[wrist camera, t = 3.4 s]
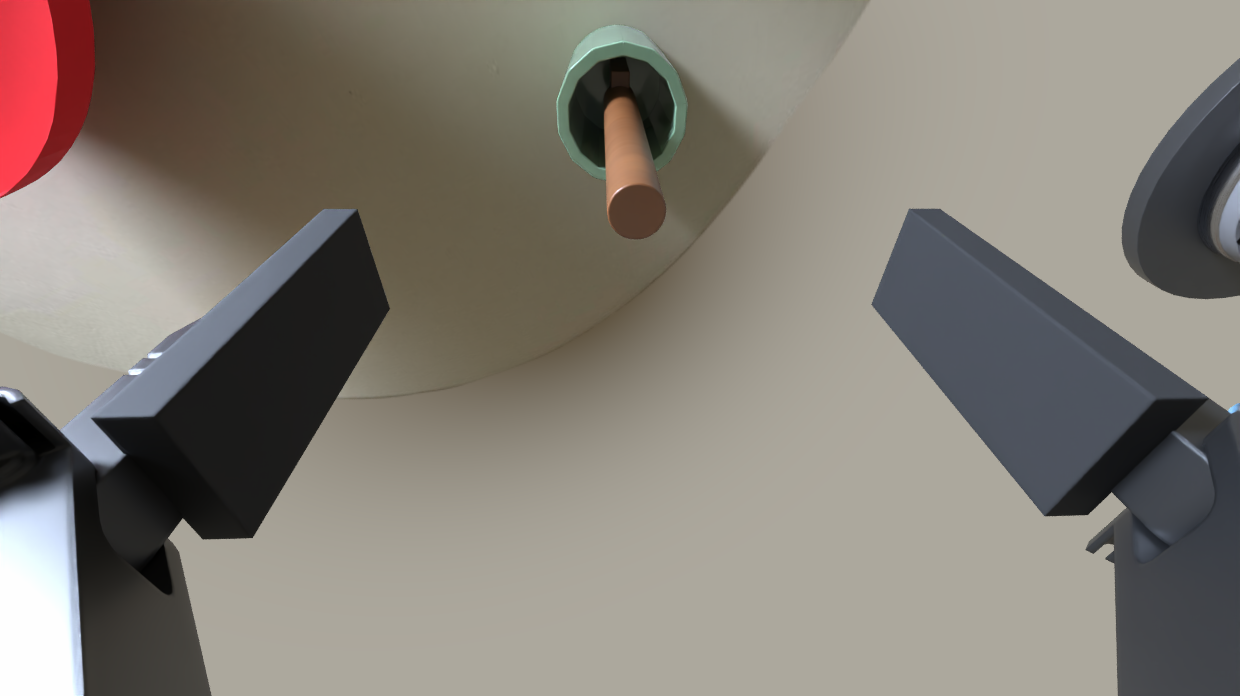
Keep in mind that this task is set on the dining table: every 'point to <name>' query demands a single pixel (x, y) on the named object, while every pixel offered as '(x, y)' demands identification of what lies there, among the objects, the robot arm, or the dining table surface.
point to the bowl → (42, 84)
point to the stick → (629, 161)
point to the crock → (648, 80)
